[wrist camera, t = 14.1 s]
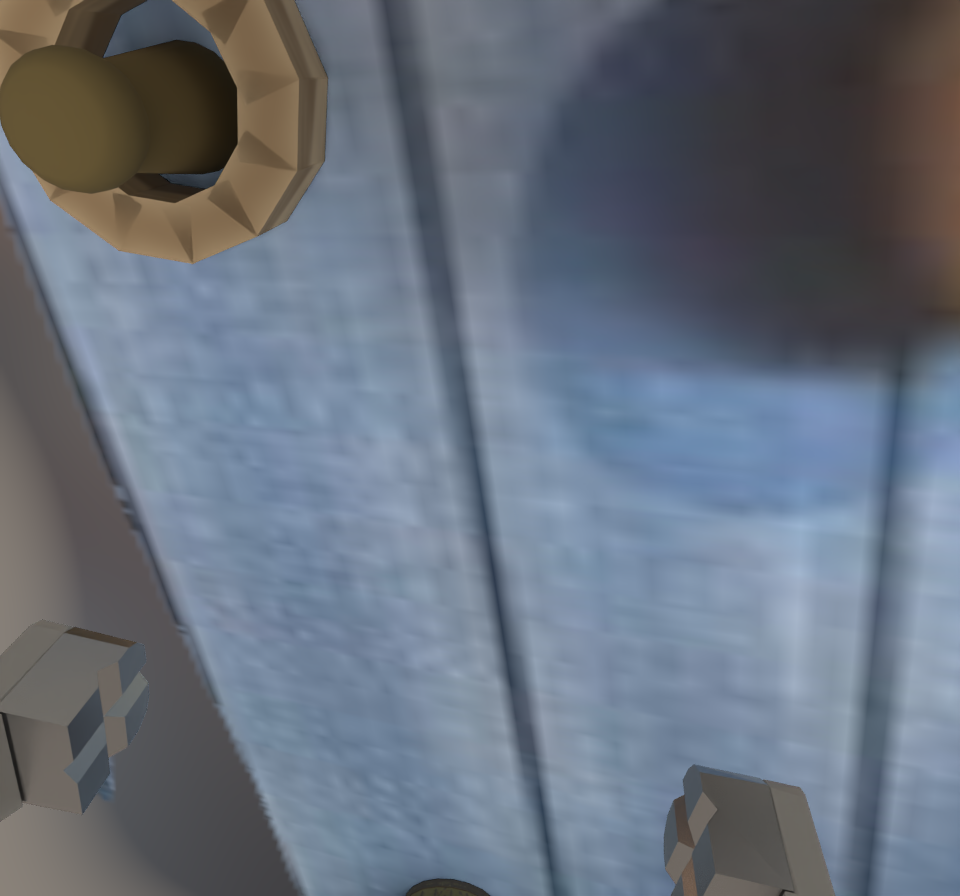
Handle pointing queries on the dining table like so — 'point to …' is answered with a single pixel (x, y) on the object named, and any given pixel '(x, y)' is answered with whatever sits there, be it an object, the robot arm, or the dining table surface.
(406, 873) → the dining table surface
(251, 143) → the tan faceted ring
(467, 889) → the thermos
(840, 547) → the dining table surface
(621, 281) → the dining table surface
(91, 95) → the dark brown rounded piece
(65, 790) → the robot arm
